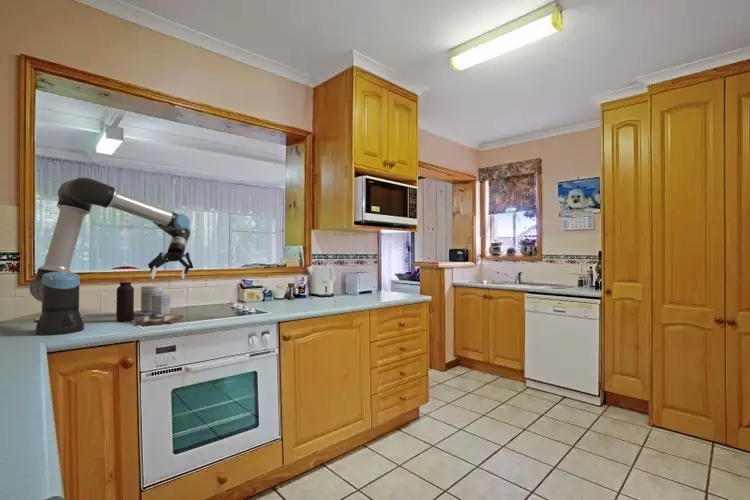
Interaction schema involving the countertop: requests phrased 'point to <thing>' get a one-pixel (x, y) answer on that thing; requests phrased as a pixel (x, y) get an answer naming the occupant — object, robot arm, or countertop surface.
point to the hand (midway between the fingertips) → (166, 278)
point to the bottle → (125, 300)
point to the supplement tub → (148, 298)
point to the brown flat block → (159, 319)
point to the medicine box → (161, 304)
